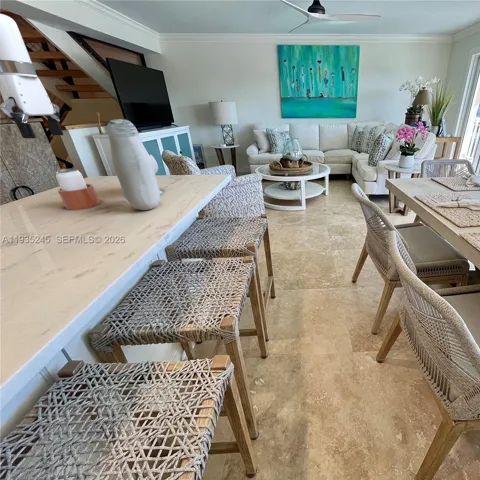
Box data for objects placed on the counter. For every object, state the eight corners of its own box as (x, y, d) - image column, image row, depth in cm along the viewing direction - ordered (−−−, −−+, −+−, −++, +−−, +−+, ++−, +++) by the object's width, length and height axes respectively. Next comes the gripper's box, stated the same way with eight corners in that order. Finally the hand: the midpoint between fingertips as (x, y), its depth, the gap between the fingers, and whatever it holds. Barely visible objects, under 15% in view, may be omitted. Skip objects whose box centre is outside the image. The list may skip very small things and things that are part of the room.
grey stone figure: (169, 206, 92) (145, 118, 79) (138, 216, 84) (106, 120, 71) (154, 201, 97) (129, 117, 84) (124, 210, 89) (91, 119, 76)
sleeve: (75, 213, 86) (66, 193, 83) (61, 209, 90) (51, 189, 87) (106, 205, 94) (98, 185, 90) (92, 201, 97) (84, 182, 94)
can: (74, 203, 93) (59, 169, 87) (96, 201, 95) (82, 167, 89) (66, 209, 87) (49, 173, 82) (89, 207, 89) (74, 171, 84)
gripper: (31, 73, 80) (55, 134, 88) (-34, 65, 65) (2, 139, 73) (57, 74, 81) (79, 134, 88) (-2, 66, 65) (31, 139, 73)
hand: (44, 136), depth 80 cm, fingers open, 9 cm apart
